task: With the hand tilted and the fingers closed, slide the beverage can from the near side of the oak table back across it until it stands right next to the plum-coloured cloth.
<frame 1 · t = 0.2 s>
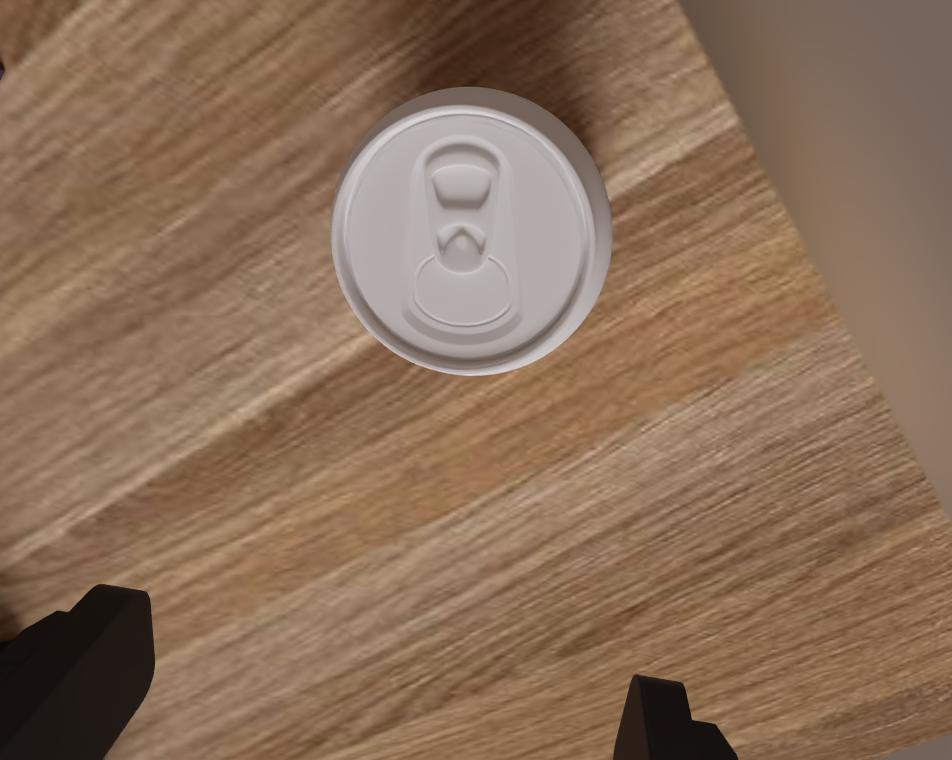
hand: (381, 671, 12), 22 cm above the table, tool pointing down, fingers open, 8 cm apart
beverage can: (504, 207, 30), on the table
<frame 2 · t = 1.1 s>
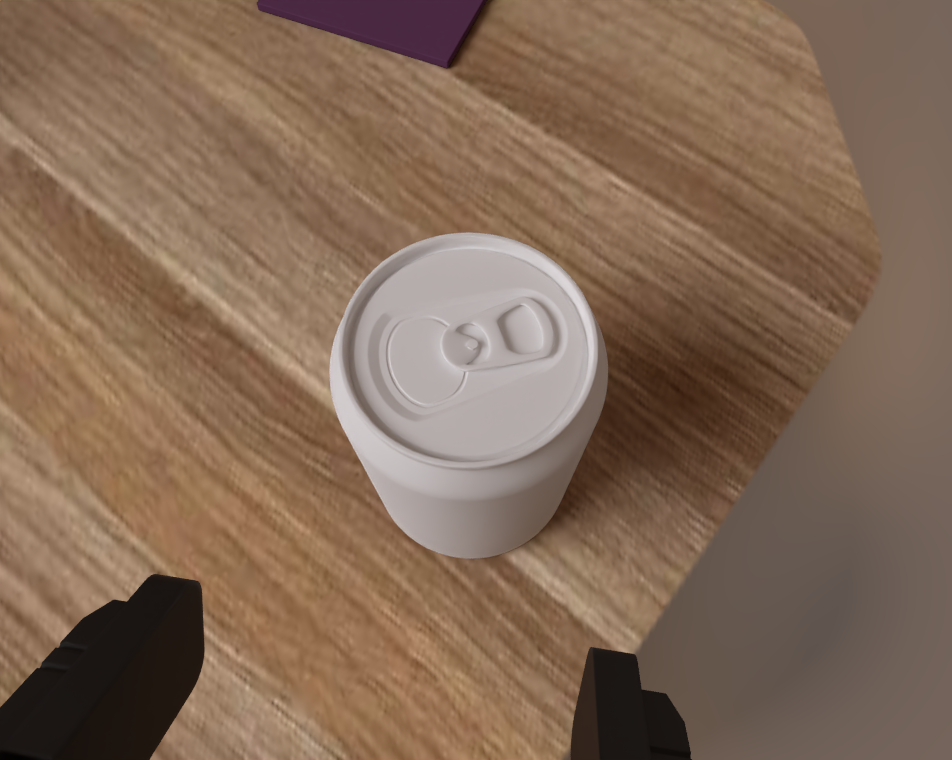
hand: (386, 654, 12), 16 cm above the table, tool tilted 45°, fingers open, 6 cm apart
beverage can: (472, 466, 30), on the table
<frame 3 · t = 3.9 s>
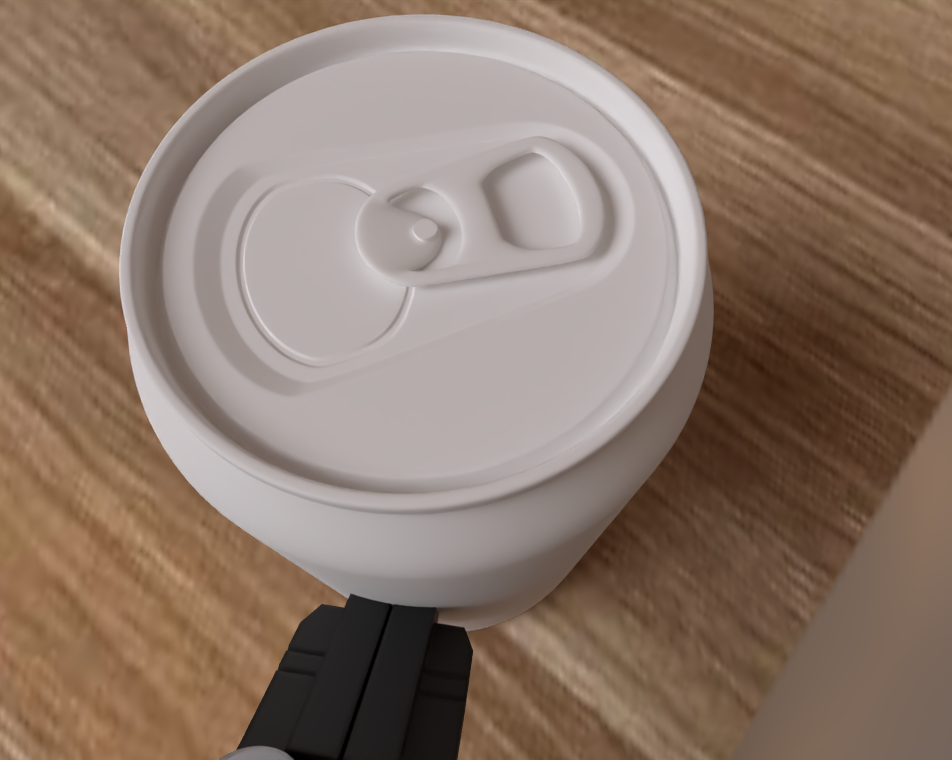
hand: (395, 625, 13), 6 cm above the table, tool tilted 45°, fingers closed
beverage can: (449, 482, 20), on the table
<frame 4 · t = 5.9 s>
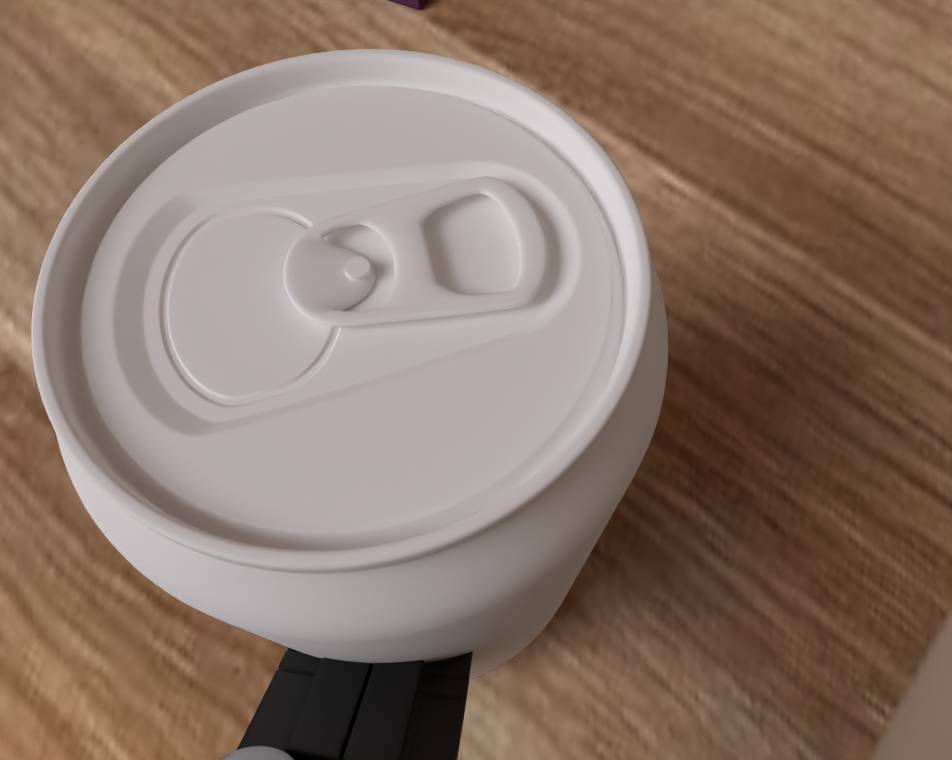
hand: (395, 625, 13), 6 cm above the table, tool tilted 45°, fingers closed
beverage can: (427, 526, 19), on the table, touching gripper
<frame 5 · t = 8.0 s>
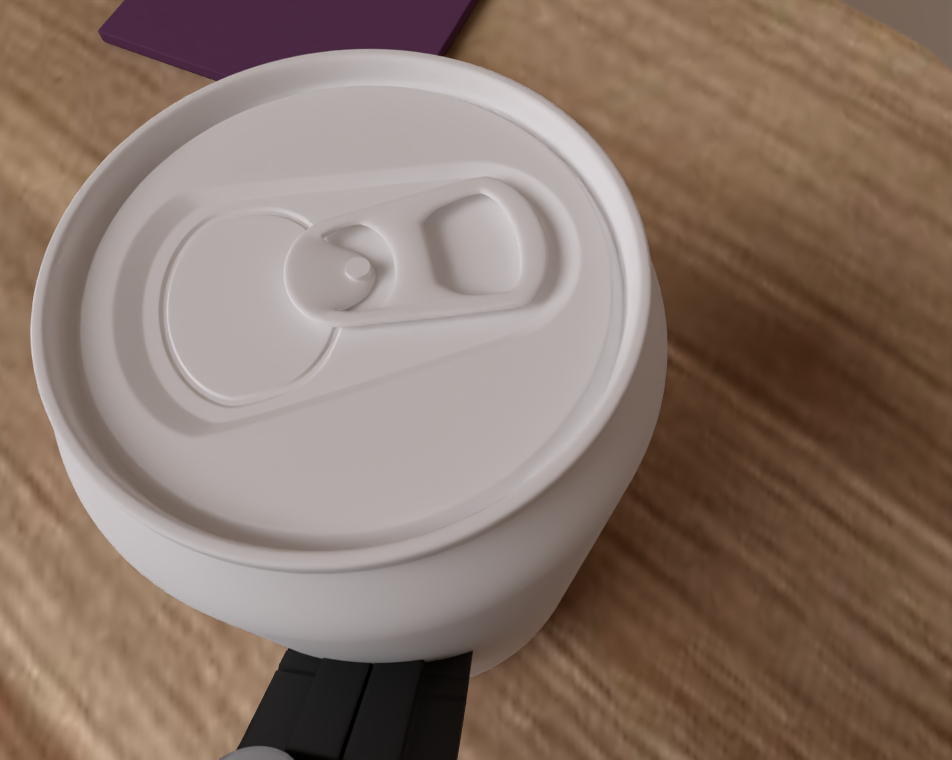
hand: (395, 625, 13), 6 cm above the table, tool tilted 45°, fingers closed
beverage can: (425, 526, 19), on the table, touching gripper
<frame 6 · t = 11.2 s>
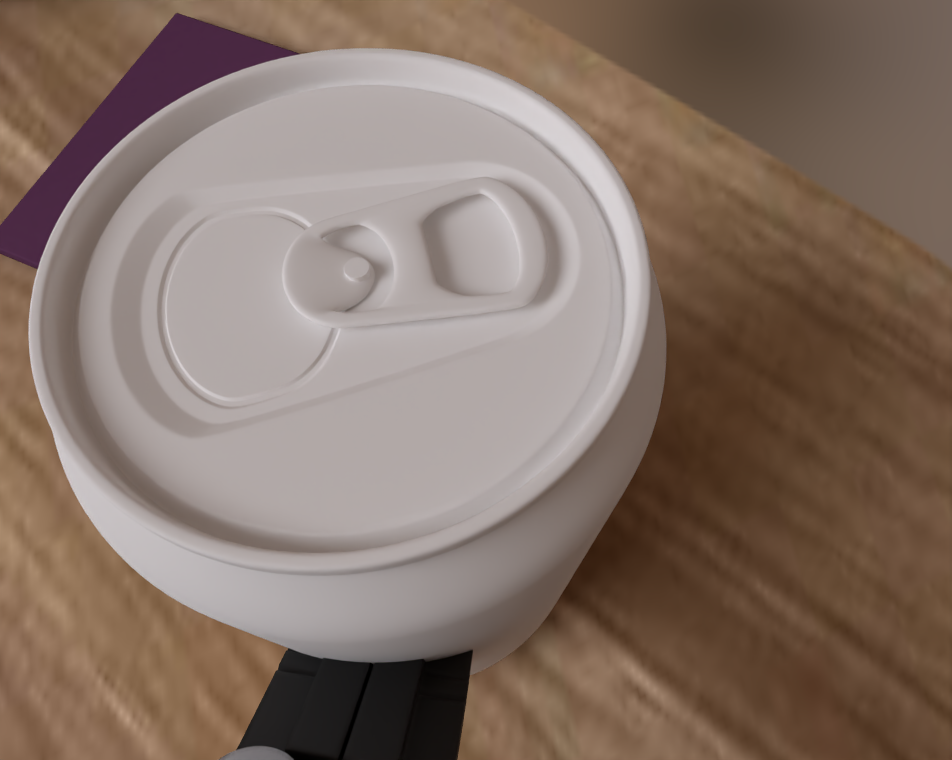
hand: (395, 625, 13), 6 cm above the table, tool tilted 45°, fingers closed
beverage can: (423, 524, 19), on the table, touching gripper
cloth: (243, 183, 24), on the table
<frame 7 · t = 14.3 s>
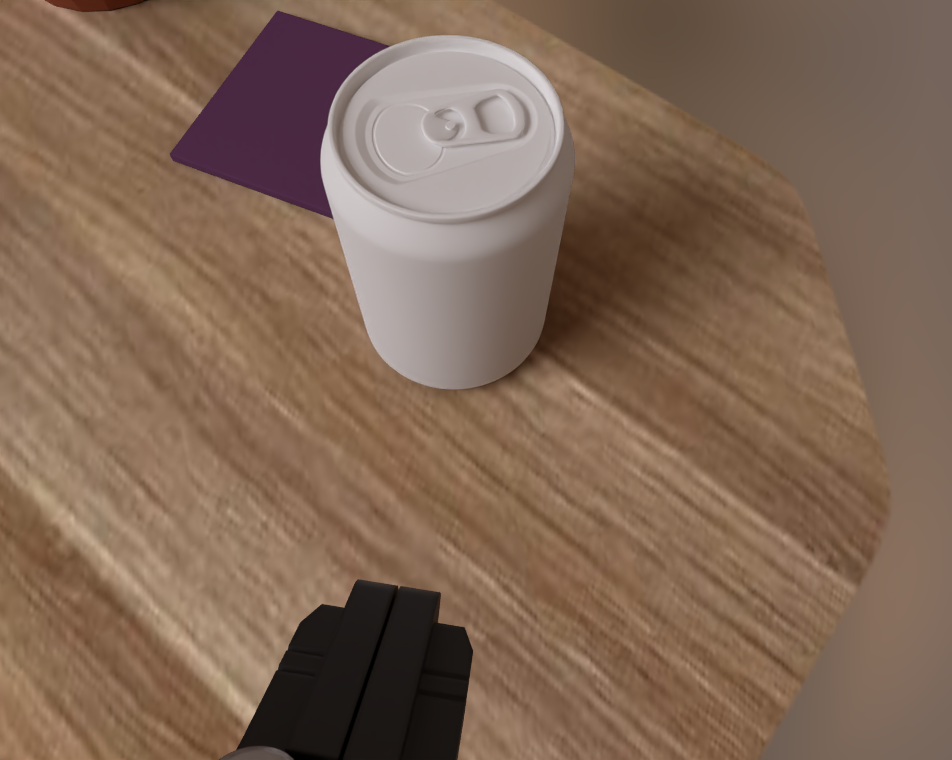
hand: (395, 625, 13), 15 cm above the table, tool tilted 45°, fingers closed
beverage can: (455, 315, 32), on the table
cloth: (329, 119, 37), on the table
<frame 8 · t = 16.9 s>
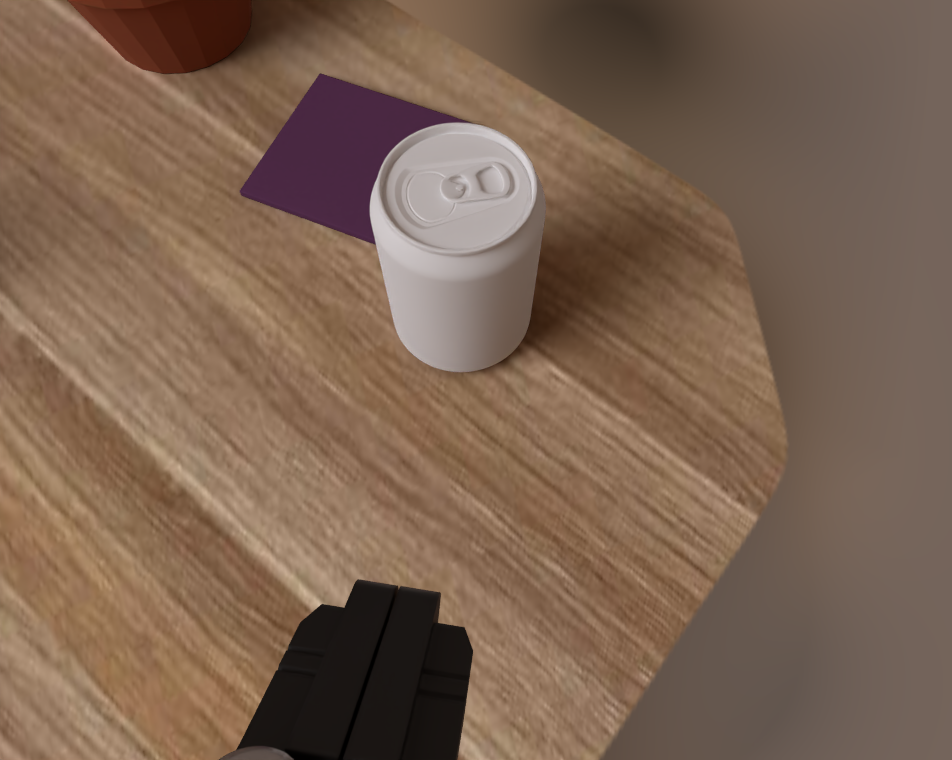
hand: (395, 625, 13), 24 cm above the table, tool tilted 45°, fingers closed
potted plant: (179, 28, 52), on the table
beverage can: (462, 316, 42), on the table
cloth: (362, 162, 47), on the table
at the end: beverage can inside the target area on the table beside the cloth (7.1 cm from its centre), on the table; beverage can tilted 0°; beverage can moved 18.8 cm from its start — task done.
